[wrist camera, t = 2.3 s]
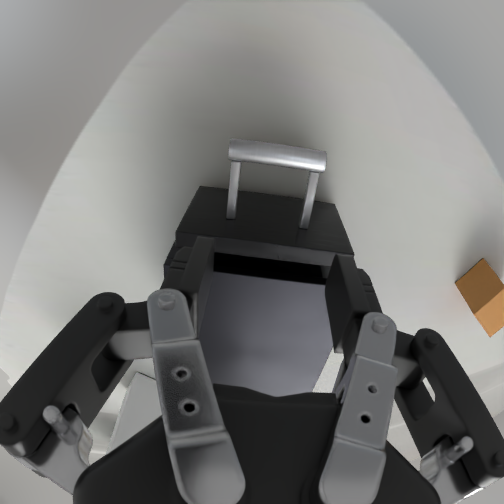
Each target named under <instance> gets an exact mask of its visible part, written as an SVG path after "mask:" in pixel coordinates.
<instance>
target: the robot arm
mask: <svg viewBox="0 0 504 504" xmlns="http://www.w3.org/2000/svg"><path fill="white" fill-rule="evenodd" d="M214 250H215V238H208V237H200V236H197V238H196V241H195V244H194V246H193V247H186V246H184V247H182V248H181V249H180V250H178V251H177V252H176V254H175V256H174V258H173V261H172V263H171V265H170V268H169V269H168V272H167V274H166V276H165V279H164V281H163V283H162V286H161V288H160V290H157V291H155V292H153V293H152V294H151V295H150V296H149V297H148V299H147V301H144V302H138V303H125V302H124V299H123V298H122V297H121V296H120V295H118V294H116V293H112V292H104V293H100V294H98V295H96V296H94V297H93V298H92V299H90V301H89V302H88V303H87V304H86V305H85V306H84V307H83V308H82V309H81V310H80V311H79V312H78V313H77V314H76V315H75V316H74V317H73V318H72V320H71V321H70V322H69V323H68V324H67V325H66V326H65V327H64V328H63V329H62V330H61V332H60V333H59V334H58V335H57V336H56V337H55V338H54V339H53V340H52V342H51V343H50V344H49V345H48V346H47V347H46V348H45V349H44V351H43V352H42V353H41V354H40V355H39V356H38V357H37V359H36V360H35V361H34V362H33V363H32V364H31V366H30V367H29V368H28V369H27V370H26V372H25V373H24V374H23V375H22V376H21V378H20V379H19V380H18V381H17V382H16V384H15V385H14V386H13V387H12V389H11V390H10V391H9V392H8V393H7V395H6V396H5V397H4V399H3V400H2V401H1V402H0V444H1V445H2V446H3V447H4V448H5V449H6V450H7V452H8V453H9V454H10V455H12V456H13V457H14V458H15V459H17V460H18V461H19V462H20V463H22V464H23V465H24V466H26V467H27V468H29V469H31V470H32V471H34V472H35V473H36V474H38V475H39V476H42V477H46V478H49V479H50V480H51V481H53V482H54V483H55V484H57V485H58V486H60V487H61V488H63V489H64V490H66V491H67V492H69V493H70V494H72V495H73V504H456V503H458V502H460V501H462V500H464V499H466V498H468V497H470V496H472V495H473V494H475V493H477V492H479V491H480V490H482V489H484V488H486V487H488V486H489V485H491V484H493V483H494V482H496V481H498V480H499V479H501V478H502V477H504V439H503V437H502V435H501V433H500V431H499V429H498V427H497V426H496V424H495V422H494V420H493V418H492V417H491V415H490V413H489V411H488V409H487V408H486V406H485V404H484V402H483V401H482V399H481V397H480V396H479V394H478V392H477V391H476V389H475V387H474V386H473V384H472V382H471V381H470V379H469V377H468V376H467V374H466V373H465V371H464V369H463V368H462V366H461V365H460V363H459V362H458V360H457V359H456V357H455V355H454V354H453V352H452V351H451V349H450V348H449V346H448V345H447V343H446V342H445V340H444V339H443V338H442V336H441V335H440V334H439V333H437V332H436V331H434V330H432V329H428V328H423V329H420V330H418V331H417V333H416V335H415V336H413V335H410V334H406V333H403V332H400V331H398V330H397V327H396V324H395V323H394V321H393V320H392V319H391V318H390V317H388V316H387V315H385V314H383V313H382V310H381V307H380V304H379V302H378V299H377V296H376V293H375V291H374V288H373V286H372V282H371V280H370V277H369V276H368V275H367V274H366V272H365V271H364V270H363V269H359V268H357V267H356V264H355V261H354V258H353V257H352V256H346V255H339V254H336V255H335V256H334V258H333V262H332V265H331V268H330V271H329V275H328V278H327V281H326V285H325V300H326V306H327V312H328V317H329V323H330V329H331V335H332V341H333V347H334V353H343V354H344V359H343V361H342V363H341V366H340V369H339V372H338V375H337V378H336V382H335V385H334V388H333V391H332V393H315V392H305V393H299V394H293V395H287V396H280V397H275V396H271V395H268V394H264V393H261V392H258V391H255V390H252V389H249V388H246V387H240V386H231V385H223V384H216V383H213V387H212V383H211V380H210V376H209V373H208V369H207V366H206V362H205V359H204V355H203V351H202V348H201V344H200V341H199V339H198V336H199V332H200V328H201V324H202V319H203V315H204V311H205V307H206V303H207V299H208V295H209V290H210V286H211V282H212V277H213V267H214ZM145 358H153V363H154V370H155V377H156V383H157V389H158V395H159V401H160V407H161V412H162V415H161V416H159V417H158V418H157V419H155V420H154V421H153V422H151V423H150V424H149V425H147V426H146V427H144V428H143V429H142V430H140V431H139V432H138V433H136V434H135V435H133V436H132V437H131V438H129V439H128V440H126V441H125V442H124V443H122V444H121V445H119V446H118V447H116V448H115V449H114V450H112V451H111V452H109V453H108V454H106V455H105V456H103V457H102V458H100V459H99V460H97V461H96V462H95V463H93V464H92V465H90V464H89V453H90V450H91V448H92V444H93V439H92V435H91V433H90V431H89V430H88V428H89V426H90V425H91V423H92V422H93V420H94V419H95V417H96V416H97V414H98V413H99V411H100V410H101V408H102V407H103V405H104V404H105V402H106V401H107V399H108V398H109V396H110V395H111V393H112V392H113V390H114V389H115V387H116V386H117V384H118V383H119V381H120V380H121V378H122V377H123V375H124V374H125V372H126V371H127V370H128V368H129V367H130V365H131V364H132V362H133V361H134V359H145ZM425 377H426V378H427V380H428V382H429V383H430V385H431V387H432V389H433V390H434V393H435V402H434V401H433V400H432V398H431V396H430V394H429V392H428V390H427V389H426V387H425V385H424V383H423V379H424V378H425ZM394 399H395V401H396V404H397V406H398V408H399V410H400V412H401V414H402V416H403V418H404V420H405V423H406V425H407V427H408V429H409V431H410V433H411V436H412V438H413V440H414V442H415V444H416V447H417V449H418V451H419V453H420V456H421V458H422V459H421V463H420V470H419V471H417V470H416V469H415V468H414V467H413V466H412V465H411V464H410V463H409V462H408V461H407V460H406V459H405V458H404V457H403V456H402V455H401V454H400V453H399V452H398V451H397V450H396V449H395V448H394V447H393V446H392V445H391V444H390V443H389V442H388V441H387V440H386V438H387V434H388V429H389V423H390V418H391V413H392V407H393V401H394Z"/></svg>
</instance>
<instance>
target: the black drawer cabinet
mask: <svg viewBox="0 0 504 504" xmlns="http://www.w3.org/2000/svg"><path fill="white" fill-rule="evenodd" d="M180 249H181V248H178V247H176V240H175V242H174V244H173V246H172V248H171V250H170V252H169V254H168V256H167V259H166V261H165V263H164V279H165V276H166V274H167V272H168V269H169V268H170V265H171V263H172V261H173V258H174V256H175V254H176V252H177V251H178V250H180ZM326 281H327V278H320V277H312V276H303V275H295V274H286V273H278V272H270V271H262V270H254V269H246V268H238V267H230V266H222V265H215V264H214V267H213V277H212V282H211V286H210V290H209V295H208V299H207V303H206V307H205V311H204V315H203V319H202V324H201V328H200V332H199V336H198V339H199V341H200V344H201V348H202V351H203V355H204V359H205V362H206V366H207V369H208V373H209V376H210V380H211V383H212V387H213V383H216V384H223V385H231V386H240V387H246V388H249V389H252V390H255V391H258V392H261V393H264V394H268V395H271V396H275V397H280V396H287V395H293V394H299V393H305V392H312V390H313V388H314V386H315V384H316V382H317V380H318V378H319V376H320V374H321V372H322V369H323V367H324V365H325V363H326V361H327V359H328V356H329V354H330V352H331V350H332V348H333V341H332V335H331V329H330V323H329V317H328V312H327V306H326V300H325V285H326Z"/></svg>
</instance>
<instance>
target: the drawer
mask: <svg viewBox="0 0 504 504" xmlns="http://www.w3.org/2000/svg"><path fill="white" fill-rule="evenodd" d="M228 159H229V160H232V162H231V171H230V182H229V189H223V188H214V187H205V186H200V187H199V189H198V190H197V192H196V194H195V196H194V198H193V200H192V201H191V203H190V205H189V207H188V209H187V211H186V213H185V215H184V217H183V218H182V220H181V222H180V224H179V226H178V228H177V230H176V247H178V248H182V247H184V246H186V247H193V246H194V244H195V241H196V238H197V236H200V237H208V238H215V250H214V264H215V265H222V266H230V267H238V268H246V269H254V270H262V271H270V272H278V273H286V274H295V275H303V276H312V277H320V278H328V275H329V271H330V268H331V265H332V262H333V258H334V256H335V255H336V254H339V255H346V256H352V257H354V252H353V249H352V247H351V244H350V241H349V239H348V236H347V234H346V231H345V228H344V226H343V223H342V221H341V218H340V216H339V213H338V211H337V208H336V206H335V204H332V203H326V202H319V201H314V198H315V193H316V189H317V184H318V179H319V172H320V173H323V172H324V170H325V167H326V162H327V153H326V152H325V151H320V150H314V149H308V148H302V147H295V146H289V145H282V144H275V143H268V142H260V141H252V140H243V139H234V138H231V140H230V144H229V152H228ZM241 161H242V162H251V163H259V164H266V165H274V166H281V167H288V168H294V169H301V170H307V171H309V176H308V181H307V186H306V191H305V196H304V199H300V198H293V197H286V196H279V195H271V194H264V193H256V192H248V191H240V190H238V189H239V180H240V170H241Z"/></svg>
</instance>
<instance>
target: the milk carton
mask: <svg viewBox="0 0 504 504" xmlns="http://www.w3.org/2000/svg"><path fill="white" fill-rule="evenodd" d="M161 415H162V412H161V407H160V401H159V395H158V389H157V383H156V380H154V379H152V378H149V377H147V376H145V375H142V374H140V373H138V372H136V374H135V376H134V378H133V379H132V381H131V383H130V385H129V387H128V389H127V391H126V394H125V397H124V400H123V402H122V405H121V408H120V411H119V414H118V418H117V421H116V424H115V427H114V430H113V433H112V436H111V439H110V443H109V446H108V449H107V452H106V454H108V453H109V452H111V451H112V450H114V449H115V448H116V447H118V446H119V445H121V444H122V443H124V442H125V441H126V440H128V439H129V438H131V437H132V436H133V435H135V434H136V433H138V432H139V431H140V430H142V429H143V428H144V427H146V426H147V425H149V424H150V423H151V422H153V421H154V420H155V419H157V418H158V417H159V416H161Z"/></svg>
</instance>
